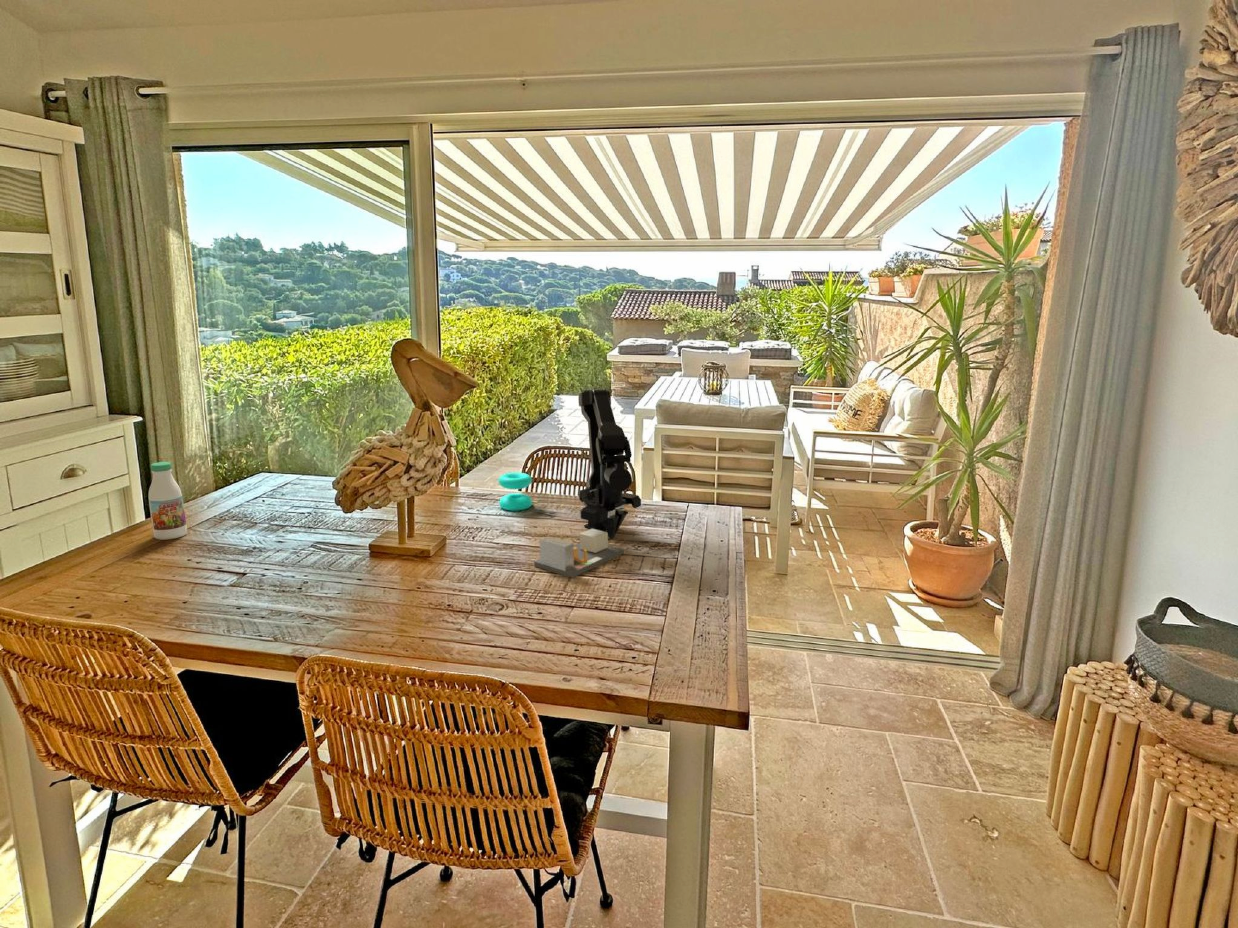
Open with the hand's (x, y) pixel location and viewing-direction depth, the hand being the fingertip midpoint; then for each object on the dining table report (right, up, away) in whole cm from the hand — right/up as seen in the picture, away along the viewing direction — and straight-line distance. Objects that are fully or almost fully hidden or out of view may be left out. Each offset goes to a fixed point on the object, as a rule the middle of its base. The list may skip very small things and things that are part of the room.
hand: (611, 538), depth 190 cm
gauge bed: (-8, -4, -10) cm, 13 cm away
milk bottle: (-118, 0, +6) cm, 119 cm away
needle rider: (-9, -4, -14) cm, 17 cm away
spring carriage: (-4, -2, -6) cm, 7 cm away
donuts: (-30, +6, +33) cm, 45 cm away
